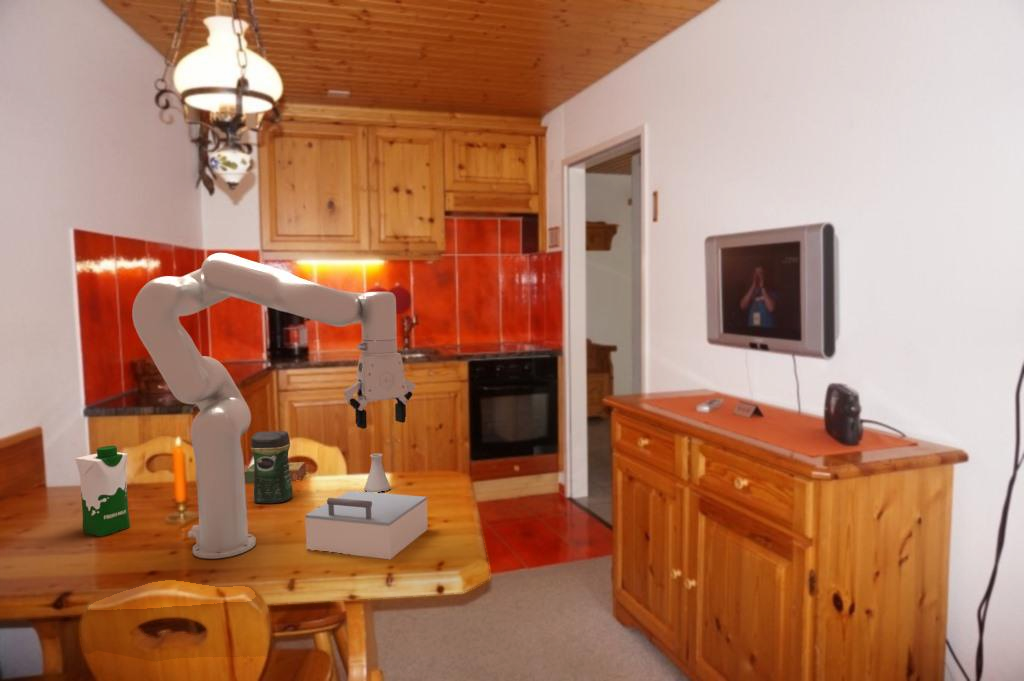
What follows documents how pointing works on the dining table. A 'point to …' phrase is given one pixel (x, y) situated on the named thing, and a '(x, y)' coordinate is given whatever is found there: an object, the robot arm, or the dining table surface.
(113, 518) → the milk carton
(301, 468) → the carton
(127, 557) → the dining table surface
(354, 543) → the box body
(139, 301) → the robot arm
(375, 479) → the flask
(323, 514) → the lid flap
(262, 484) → the coffee jar
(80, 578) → the dining table surface
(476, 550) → the dining table surface
